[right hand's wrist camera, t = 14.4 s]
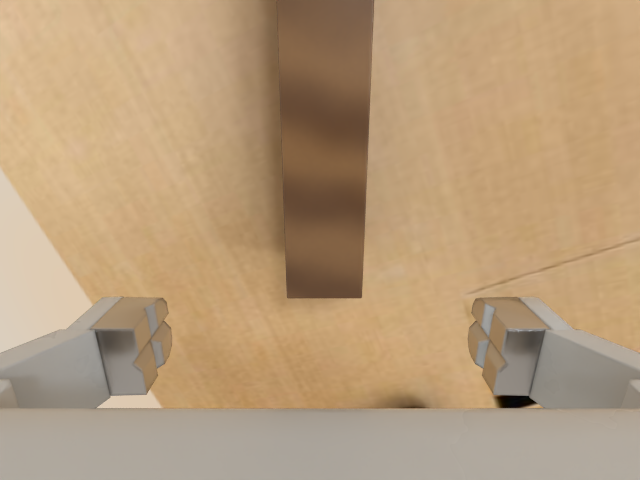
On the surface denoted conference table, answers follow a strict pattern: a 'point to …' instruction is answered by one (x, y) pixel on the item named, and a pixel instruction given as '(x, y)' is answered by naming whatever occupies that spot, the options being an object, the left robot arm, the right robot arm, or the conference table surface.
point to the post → (324, 142)
